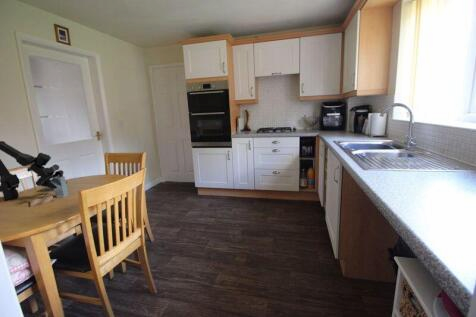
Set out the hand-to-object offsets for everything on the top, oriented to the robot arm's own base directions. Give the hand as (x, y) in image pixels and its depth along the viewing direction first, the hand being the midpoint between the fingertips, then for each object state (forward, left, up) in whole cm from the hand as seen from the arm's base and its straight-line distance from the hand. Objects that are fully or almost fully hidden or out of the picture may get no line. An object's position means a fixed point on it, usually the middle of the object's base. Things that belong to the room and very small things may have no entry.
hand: (61, 185), depth 152 cm
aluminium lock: (-1, +1, -7) cm, 7 cm away
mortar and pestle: (-2, +23, -7) cm, 24 cm away
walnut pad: (-11, -2, -7) cm, 13 cm away
